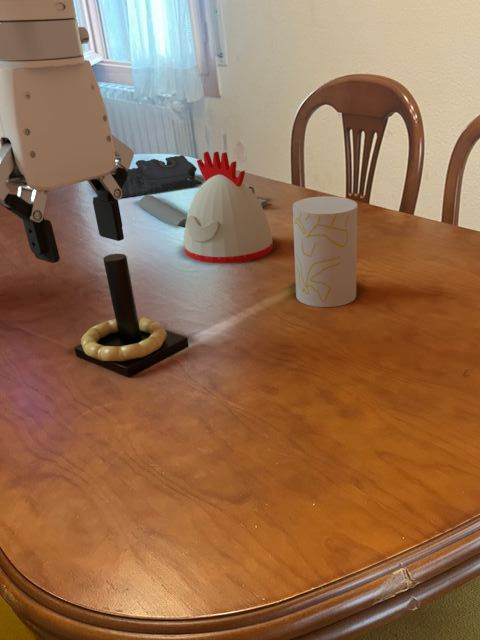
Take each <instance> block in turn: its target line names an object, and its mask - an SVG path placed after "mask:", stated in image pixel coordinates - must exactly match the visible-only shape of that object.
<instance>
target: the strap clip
mask: <svg viewBox="0 0 480 640" xmlns="http://www.w3.org/2000/svg"><path fill="white" fill-rule="evenodd" d="M246 186H247V187H248V188H249V189H250V190H251V191H252V192H253V193H254V195H255V196H256V192H255V187H254V186H249V185H246ZM257 199H258V200H259V202H261V204H262V208H263V207H265V206H266V205H267V203H268V201H267V199H263V198H257Z"/></svg>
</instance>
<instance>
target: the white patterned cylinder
mask: <svg viewBox="0 0 480 640" xmlns="http://www.w3.org/2000/svg"><path fill="white" fill-rule="evenodd" d="M292 224H293V226H292V228H293V249H294V250H293V253H294V274H295V275H294V276H295V297H296V299H297V300H298V302H300V303H301V304H303V305H306V306H310V307H316V308H334V307H341V306H345V305H348V304H350V303H352V302H353V301H354V300H355V299H356V298H357V271H358V270H357V268H358V267H357V265H358V264H357V262H358V260H357V258H358V257H357V256H358V203H357V202H356V201H355V200H353V199H351V198H347V197H341V196H328V195H327V196H313V197H307V198H303V199H302V198H301V199H299V200H297V201H295V202H294V203H293V204H292Z"/></svg>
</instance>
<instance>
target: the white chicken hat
mask: <svg viewBox="0 0 480 640" xmlns="http://www.w3.org/2000/svg"><path fill="white" fill-rule="evenodd" d="M196 163H197V166H198V169H199V171H200V172H201V175H202V177H203V179H204V182H203V184H202V185H201V186H200V187H199V189H198V190H197V191H196V193H195V195H194V197H193V199H192V201H191V203H190V205H189V208H188V212H187V214H186V215H187V219H186V226H185V227H184V233H183V249H184V253H185V255H186V256H187V257H188V258H190V259H192V260H194V261H198V262H202V263H209V264H210V263H211V264H232V263H242V262H246V261H247V262H248V261H252V260H255V259H258V258H261V257H263V256H266V255H267V254H269V253H270V252H271V251H272V250H273V249H274V244H273V242H274V241H273V234H272V229H271V227H270V224H269V221H268V218H267V216H266V212H265V210H264V208H263V207H262V204H261V202H259V200H258V199H259V198H257V196H256V194H255V195H254V193H253V192H252V189H250V188H248V187H247V186H248V185H247V184H246V183H245V182H244V179H245V175H246V174H245V173H246V170H241V171H240V172H239V174H238V176H237V175H236V173H237V160H235V161H232V162H231V163H230V161H229V157H228V153H227V151H225V152H222V153H221V157H220V153H219V151H214V152H213V156H212V158H211V154H210V152H209V151H205V152H203V159H201V158H200V159H197V160H196Z"/></svg>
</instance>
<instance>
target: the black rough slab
mask: <svg viewBox="0 0 480 640" xmlns="http://www.w3.org/2000/svg"><path fill="white" fill-rule="evenodd" d="M164 160H165V161H166V162H165V161H163V160H159V159H157V158H152V159H149V160H145V159H139V160H137V161H136V162H135V165H136V167H132V168H129V170H127V173H128V176H127V179H126V181H125V183H124V185H123V187H122V189H121V190H122V197H121V198H132V197H137V196H138V197H139V196H147V195H152V194H159V193H166V192H172V191H178V190H185V189H189V188H190V189H191V188H195V187H197V185H201V184H202V181H201V180H198V179H196V178H195V177H196V172H197V166H195V165H194V163H192V162H191V161H189V160H188V159H187V158H186V157H185V155H183V154H181V155H173V156H169V157H165V159H164Z"/></svg>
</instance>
